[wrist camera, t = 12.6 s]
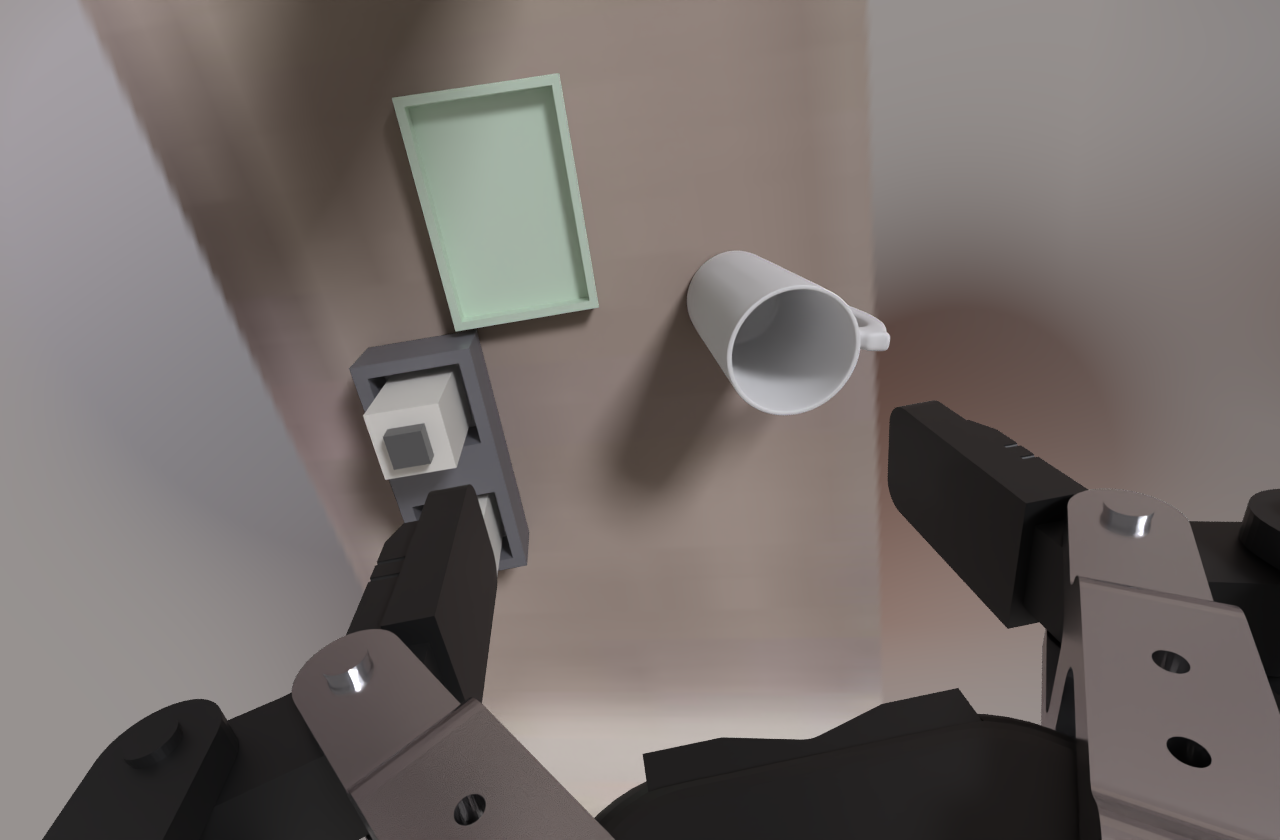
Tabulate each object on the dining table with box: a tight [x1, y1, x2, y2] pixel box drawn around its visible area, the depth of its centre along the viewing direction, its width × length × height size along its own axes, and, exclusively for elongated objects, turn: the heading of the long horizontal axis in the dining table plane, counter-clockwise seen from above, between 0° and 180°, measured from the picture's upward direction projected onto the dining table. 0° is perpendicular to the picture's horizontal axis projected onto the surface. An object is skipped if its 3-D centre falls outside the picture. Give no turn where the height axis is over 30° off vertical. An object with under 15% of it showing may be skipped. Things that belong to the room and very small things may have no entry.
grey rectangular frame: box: [349, 330, 529, 571], centre depth 42 cm, size 16×7×4 cm, turn 8°
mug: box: [687, 251, 890, 415], centre depth 36 cm, size 10×7×12 cm, turn 90°
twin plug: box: [477, 492, 504, 576], centre depth 41 cm, size 4×4×8 cm
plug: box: [363, 364, 472, 480], centre depth 37 cm, size 4×4×8 cm
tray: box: [392, 73, 599, 331], centre depth 37 cm, size 13×9×2 cm
